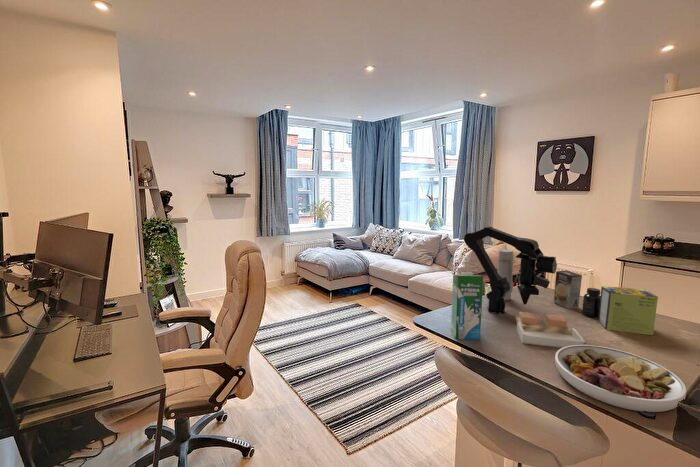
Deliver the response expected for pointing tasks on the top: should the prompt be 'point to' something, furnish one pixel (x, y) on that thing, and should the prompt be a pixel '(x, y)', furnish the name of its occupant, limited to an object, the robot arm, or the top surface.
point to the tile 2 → (556, 320)
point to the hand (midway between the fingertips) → (524, 304)
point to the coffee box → (567, 289)
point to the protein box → (627, 310)
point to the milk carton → (467, 306)
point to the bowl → (620, 378)
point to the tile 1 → (528, 318)
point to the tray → (549, 338)
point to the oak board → (544, 327)
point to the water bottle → (506, 268)
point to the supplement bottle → (591, 303)
